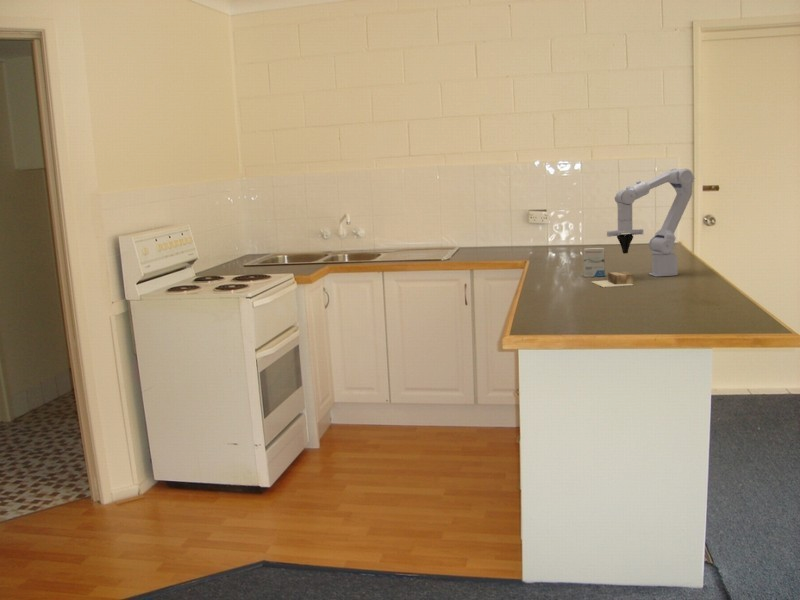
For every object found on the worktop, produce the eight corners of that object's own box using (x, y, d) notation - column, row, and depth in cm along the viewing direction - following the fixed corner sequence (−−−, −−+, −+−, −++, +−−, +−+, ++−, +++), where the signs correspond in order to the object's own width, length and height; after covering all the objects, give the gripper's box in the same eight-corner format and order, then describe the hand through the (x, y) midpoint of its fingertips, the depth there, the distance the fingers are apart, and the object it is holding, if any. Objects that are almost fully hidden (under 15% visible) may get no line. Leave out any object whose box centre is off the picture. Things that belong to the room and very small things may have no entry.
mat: (620, 280, 310) (620, 279, 310) (633, 285, 296) (633, 284, 296) (591, 282, 309) (591, 281, 309) (603, 287, 295) (603, 286, 295)
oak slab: (625, 271, 306) (608, 272, 306) (632, 274, 298) (615, 275, 298) (625, 280, 307) (608, 281, 306) (632, 283, 299) (615, 284, 298)
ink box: (604, 274, 326) (604, 247, 324) (604, 276, 322) (604, 248, 320) (584, 275, 329) (583, 247, 327) (583, 277, 324) (583, 249, 322)
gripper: (638, 218, 314) (638, 250, 316) (604, 220, 313) (604, 253, 316) (645, 219, 307) (645, 252, 310) (610, 221, 306) (610, 255, 309)
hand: (625, 253), depth 312 cm, fingers closed
